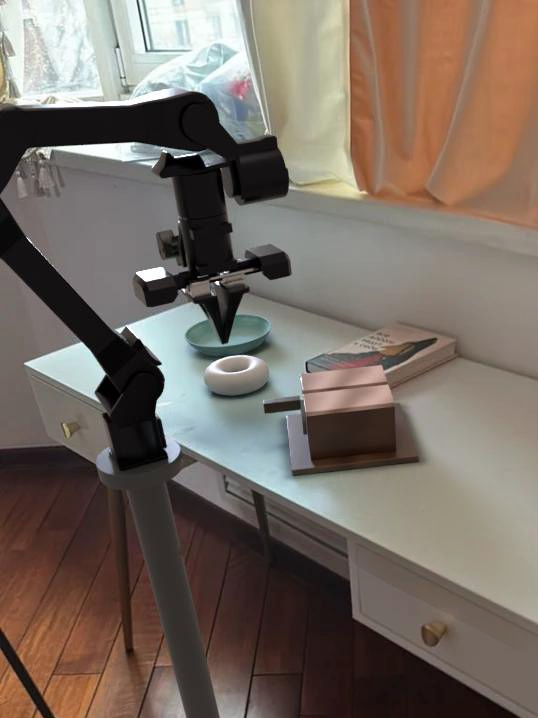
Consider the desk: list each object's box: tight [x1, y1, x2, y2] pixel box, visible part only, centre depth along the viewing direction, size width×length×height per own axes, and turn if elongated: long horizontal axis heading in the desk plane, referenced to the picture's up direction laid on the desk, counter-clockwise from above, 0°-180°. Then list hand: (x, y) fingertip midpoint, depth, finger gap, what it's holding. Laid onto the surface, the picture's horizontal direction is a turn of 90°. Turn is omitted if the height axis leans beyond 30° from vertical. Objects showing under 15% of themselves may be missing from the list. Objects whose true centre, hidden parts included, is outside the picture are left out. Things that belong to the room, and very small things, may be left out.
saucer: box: [183, 313, 273, 357], centre depth 143 cm, size 15×15×3 cm
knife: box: [262, 395, 307, 435], centre depth 110 cm, size 16×1×5 cm, turn 95°
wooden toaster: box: [286, 364, 420, 476], centre depth 111 cm, size 16×16×7 cm
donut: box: [203, 354, 270, 397], centre depth 129 cm, size 10×4×10 cm
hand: (223, 343), depth 109 cm, fingers closed
